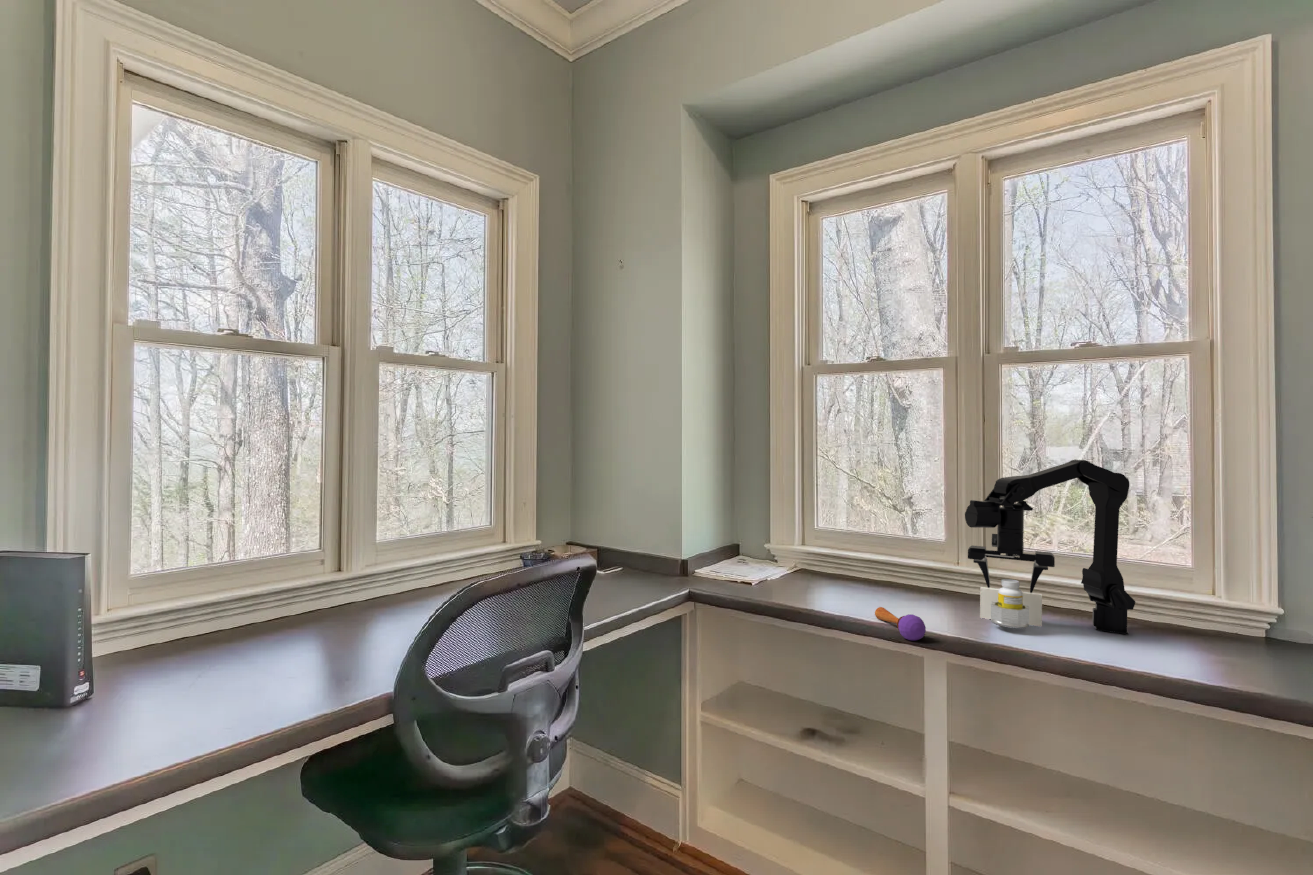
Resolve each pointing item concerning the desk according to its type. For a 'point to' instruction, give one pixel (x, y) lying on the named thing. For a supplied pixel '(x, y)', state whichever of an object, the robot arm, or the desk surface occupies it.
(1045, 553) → the robot arm
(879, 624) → the desk surface
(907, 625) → the purple maraca
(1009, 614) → the cup bracket
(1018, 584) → the supplement bottle
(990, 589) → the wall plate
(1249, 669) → the desk surface
